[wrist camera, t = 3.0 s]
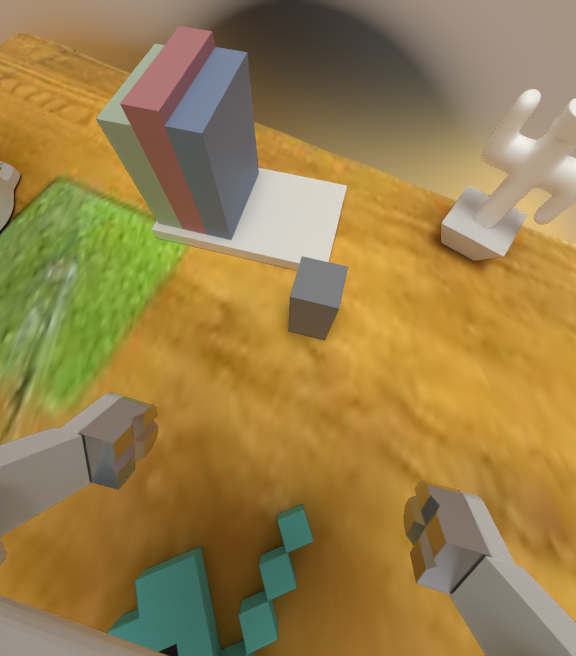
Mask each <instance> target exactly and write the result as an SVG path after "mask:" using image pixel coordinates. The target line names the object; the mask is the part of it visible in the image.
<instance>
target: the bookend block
mask: <svg viewBox="0 0 576 656" xmlns="http://www.w3.org/2000/svg"><path fill="white" fill-rule="evenodd" d="M347 269H348V267H347V266H343V265H338V264H334V263H330V262H325V261H321V260H316V259H312V258H308V257H303V256H302V257H301V261H300V264H299V267H298V271H297V274H296V278H295V281H294V285H293V288H292V292H291V295H290V308H289V328H288V331H289V332H293V333H297V334H301V335H305V336H309V337H313V338H317V339H321V340H325V339H326V336H327V334H328V332H329V330H330V328H331V325H332V323H333V321H334V319H335V317H336V315H337V312H338V310H339V307H340V303H341V298H342V293H343V288H344V284H345V279H346V274H347Z"/></svg>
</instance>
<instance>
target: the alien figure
mask: <svg viewBox="0 0 576 656" xmlns="http://www.w3.org/2000/svg"><path fill="white" fill-rule="evenodd" d="M278 524H279V528H280V531H281V535H282V538H283V542H284V545H283V546H281V547H279V548H276V549H274V550H272V551H270V552H267V553H265V554H263V555H261V557H260V562H259V568H260V571H261V575H262V579H263V583H264V587H265V590H264V591H262V592H259V593H257V594H255V595H253V596H251V597H248V598H246V599H244V600H242V602H241V606H240V611H239V620H240V624H241V629H242V633H243V638H244V640H242V641H239V642H237V643H235V644H233V645H231V646H229V647H227V648H225V649H223V650H221V647H220V642H219V636H218V631H217V626H216V621H215V616H214V611H213V606H212V600H211V595H210V590H209V585H208V580H207V575H206V570H205V564H204V559H203V554H202V549H201V547H198V548H196V549H193V550H191V551H189V552H186V553H184V554H182V555H179V556H177V557H174V558H172V559H170V560H167V561H165V562H162V563H160V564H158V565H155V566H153V567H150V568H148V569H146V570H145V571H144V572H143V573H142V574H141V575H140V576H139V577H138V578H137V579H136V580H135V586H136V595H137V603H138V609H136V610H134V611H132V612H129V613H127V614H125V615H122V616H121V617H120V618H119V619H118V620H117V621H116V623H115V624H114V625H113V626H112V627H111V628H110V630H109V631H108V632H107V634H110V635H113V636H116V637H118V638H121V639H124V640H127V641H129V642H132V643H135V644H138V645H140V646H143V647H146V648H149V649H151V650H154V651H157V652H159V653H162V654H165V655H168V656H254V651H256V650H258V649H260V648H262V647H264V646H266V645H268V644H270V643H272V642H274V641H276V640H278V621H277V617H276V613H275V609H274V605H273V601H272V599H274V598H276V597H278V596H280V595H283V594H285V593H287V592H289V591H291V590H293V589H296V588H297V587H296V576H295V572H294V569H293V565H292V562H291V558H290V555H289V552H291V551H293V550H295V549H297V548H300V547H302V546H304V545H306V544H309V543H311V542H313V537H312V534H311V530H310V527H309V524H308V521H307V518H306V515H305V511H304V508H303V505H302V504H301V505H299V506H296V507H294V508H292V509H289V510H287V511H285V512H282V513H280V514H278Z"/></svg>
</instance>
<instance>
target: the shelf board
mask: <svg viewBox="0 0 576 656" xmlns="http://www.w3.org/2000/svg"><path fill="white" fill-rule="evenodd" d="M96 120H97V122H98V123H99V125H100V127H101V128H102V130H103V132H104V133H105V135H106V137H107V138H108V140H109V142H110V143H111V145H112V146H113V148H114V150H115V151H116V153H117V155H118V156H119V158H120V160H121V161H122V163H123V165H124V166H125V168H126V170H127V171H128V173H129V175H130V176H131V178H132V180H133V181H134V183H135V185H136V186H137V188H138V190H139V191H140V193H141V195H142V196H143V198H144V200H145V201H146V203H147V205H148V206H149V208H150V210H151V211H152V213H153V215H154V216H155V218H156V222H155V224H154V226H153V228H152V231H153V232H154V234H155V236H156V237H157V238H159V239H164V240H168V241H172V242H177V243H181V244H185V245H189V246H194V247H198V248H202V249H207V250H211V251H215V252H220V253H224V254H228V255H233V256H237V257H241V258H246V259H250V260H254V261H259V262H263V263H267V264H272V265H276V266H280V267H285V268H289V269H293V270H297V271H298V267H299V264H300V261H301V257H302V256H303V257H308V258H312V259H316V260H321V261H325V262H329V258H330V254H331V250H332V245H333V241H334V237H335V233H336V229H337V225H338V221H339V217H340V213H341V209H342V204H343V200H344V196H345V192H346V188H347V186H346V185H341V184H336V183H331V182H326V181H321V180H316V179H311V178H306V177H302V176H297V175H292V174H287V173H282V172H277V171H272V170H267V169H262V168H258V160H257V150H256V139H255V129H254V118H253V108H252V98H251V87H250V76H249V66H248V56H247V53H246V52H241V51H235V50H230V49H223V48H218V47H215V44H214V38H213V33H212V31H206V30H200V29H194V28H188V27H182V26H179V28H178V29H177V30H176V31H175V33H174V34H173V35H172V37H171V38H170V39H169V41H168V42H167V43H166V45H160V44H154V46H153V47H152V48H151V50H150V51H149V52H148V53H147V55H146V56H145V57H144V59H143V60H142V61H141V62H140V64H139V65H138V66H137V67H136V69H135V70H134V71H133V72H132V73H131V75H130V76H129V77H128V79H127V80H126V81H125V82H124V84H123V85H122V86H121V87H120V89H119V90H118V91H117V92H116V94H115V95H114V96H113V97H112V99H111V100H110V101H109V103H108V104H107V105H106V106H105V108H104V109H103V110H102V111H101V113H100V114H99V115H98V116H97V118H96Z"/></svg>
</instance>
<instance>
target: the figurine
mask: <svg viewBox="0 0 576 656" xmlns="http://www.w3.org/2000/svg"><path fill="white" fill-rule="evenodd" d="M540 98H541V94H540V92H539V91H537V90H535V89H530V90H527V91H525V92H524V93H523V94H521V95H520V96H519V98H518V99H517V100H516V101H515V103H514V104H513V105H512V107H511V108H510V110H509V111H508V112H507V114H506V115H505V117H504V118H503V120H502V121H501V122H500V124H499V125H498V127H497V128H496V130H495V131H494V132H493V134H492V135H491V137H490V138H489V140H488V141H487V143H486V145H485V147H484V149H483V152H482V159H483V161H484V162H485V163H487V164H489V165H491V166H493V167H495V168H497V169H499V170H502V171H504V172H506V173H507V174H508V176H507V178H506V179H505V180H504V181H503V182H502V183H501V184H500V185H499V187H498V188H497V189H496V190H495V191H494V192H493V194H492V195H491V196H489V195H487V194H485V193H483V192H481V191H479V190H477V189H475V188H473V187H471V186H469V185H468V186H467V187H466V189H465V190H464V192H463V193H462V195H461V196H460V198H459V199H458V200H457V202H456V203H455V205H454V206H453V208H452V209H451V210H450V212H449V213H448V215H447V216H446V218H445V219H444V220H443V222H442V226H441V243H442V244H444V245H446V246H448V247H450V248H451V249H453V250H455V251H457V252H459V253H460V254H462V255H464V256H466V257H468V258H469V259H471V260H473V261H477V260H484V259H491V258H499V257H504V256H505V254H506V252H507V251H508V249H509V247H510V245H511V243H512V242H513V240H514V238H515V236H516V234H517V233H518V231H519V229H520V227H521V226H522V224H523V222H524V220H525V218H526V217H527V214H526V213H524V212H522V211H520V210H518V209H516V208H514V206H515V205H516V204H517V203H518V202H519V201H520V200H521V199H522V198H523V197H524V196H525V195H527V194H528V192H530V191H531V190H532V189H533V188H536V187H538V188H540V189H542V190H544V191H546V192H549V193H550V194H552V195H553V196H552V197H551V198H550V199H549V200H548V201H547V202H546V203H544V204H543V205H542V206H541V207H540V208H539V209H538V210H537V211H536V213H535V215H534V220H535V222H536V223H538V224H541V225H542V224H543V225H544V224H547V223H549V222H551V221H552V220H553V219H555V218H556V217H557V216H558V215H560V214H561V213H562V212H564V211H565V210H566V209H568V208H569V207H570V206H571V205H573V204H574V203H575V202H576V158H573V157H571V156H569V155H568V154H569V153H570V152H571V151H572V150H573V149H574V148H575V147H576V98H575V99H573V100H572V101H571V102H570V103H569V104H568V105H567V106H566V107H565V108H564V109H563V111H562V112H561V113H560V114H559V115H558V116H557V117H556V119H555V120H554V121H553V122H552V124H551V128H550V129H549V130H548V131H547V132H546V133H545V134H544V136H543V137H542V138H540V139H538V140H533V139H530V138H528V137H525V136H523V135H521V134H520V133H519V131H520V128H521V127H522V126H523V124H524V122H525V121H526V120H527V119H528V117H529V116H530V115H531V113H532V112H533V111H534V110H535V108H536V107H537V105H538V103H539V101H540Z"/></svg>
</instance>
